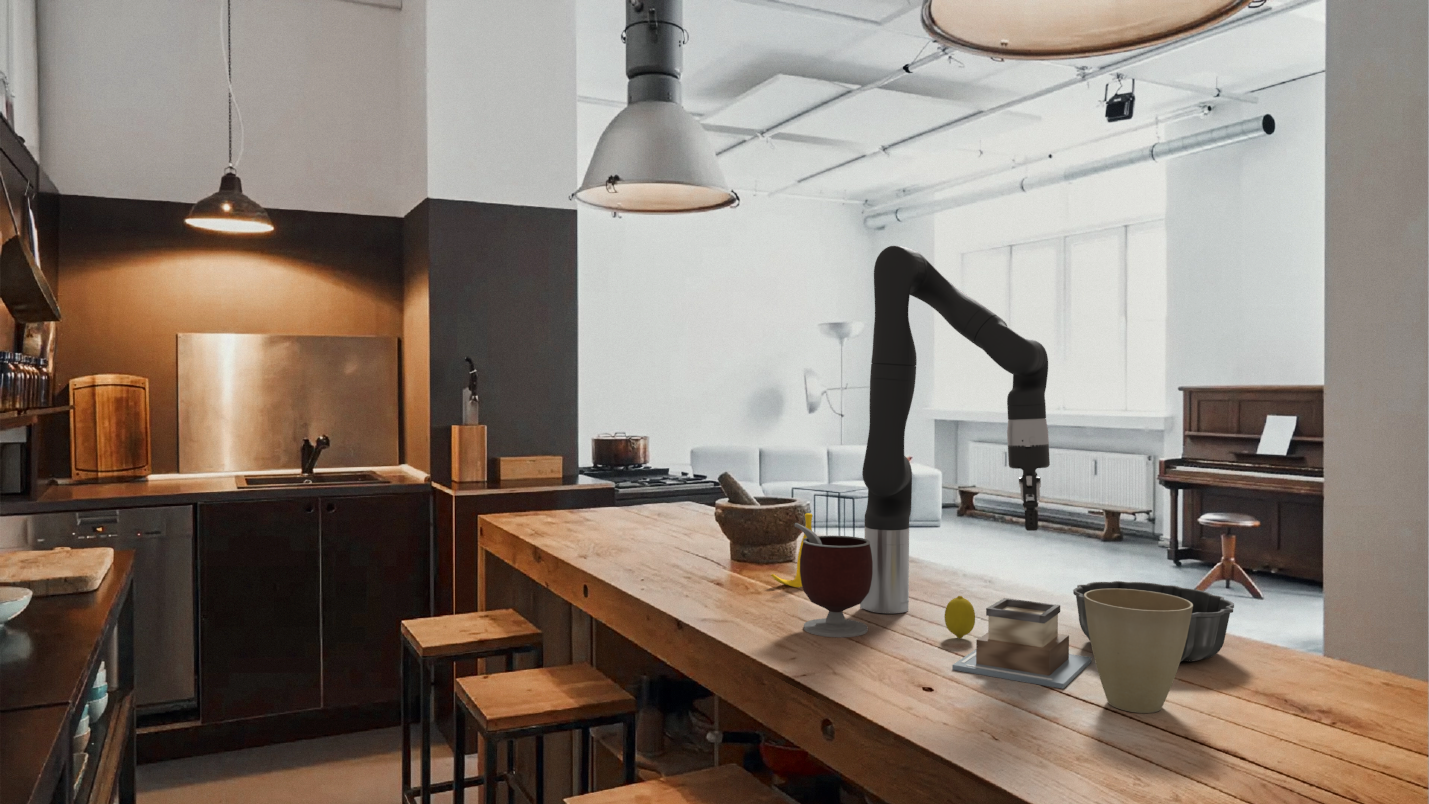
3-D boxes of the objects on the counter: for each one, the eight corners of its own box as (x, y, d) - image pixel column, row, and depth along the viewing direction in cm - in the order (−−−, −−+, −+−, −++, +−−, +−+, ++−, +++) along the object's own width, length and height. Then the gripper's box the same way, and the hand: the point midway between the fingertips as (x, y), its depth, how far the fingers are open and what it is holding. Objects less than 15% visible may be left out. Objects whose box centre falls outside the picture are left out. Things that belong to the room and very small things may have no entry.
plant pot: (1137, 728, 139) (1139, 614, 139) (1060, 696, 153) (1062, 592, 152) (1214, 714, 145) (1216, 604, 145) (1134, 685, 159) (1135, 585, 158)
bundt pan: (1221, 639, 187) (1222, 586, 187) (1246, 679, 162) (1247, 618, 162) (1071, 627, 196) (1072, 576, 196) (1073, 663, 171) (1074, 605, 171)
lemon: (975, 643, 183) (976, 599, 183) (944, 641, 184) (945, 598, 184) (974, 635, 189) (974, 593, 188) (944, 634, 190) (944, 592, 190)
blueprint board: (952, 669, 166) (952, 664, 166) (987, 645, 181) (987, 640, 181) (1063, 688, 156) (1063, 683, 156) (1091, 661, 171) (1091, 656, 171)
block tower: (976, 663, 167) (976, 608, 167) (998, 647, 177) (999, 595, 177) (1049, 675, 161) (1050, 618, 160) (1068, 658, 171) (1069, 604, 170)
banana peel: (801, 574, 247) (802, 507, 247) (854, 588, 232) (854, 516, 231) (747, 582, 238) (748, 511, 237) (798, 597, 222) (798, 521, 222)
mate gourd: (880, 625, 196) (881, 523, 196) (860, 641, 184) (861, 533, 183) (805, 616, 203) (806, 518, 202) (781, 632, 190) (781, 527, 190)
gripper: (1008, 442, 200) (1012, 524, 199) (1006, 444, 186) (1010, 532, 186) (1048, 441, 197) (1052, 523, 197) (1048, 443, 184) (1053, 532, 183)
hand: (1032, 527), depth 191 cm, fingers open, 8 cm apart
